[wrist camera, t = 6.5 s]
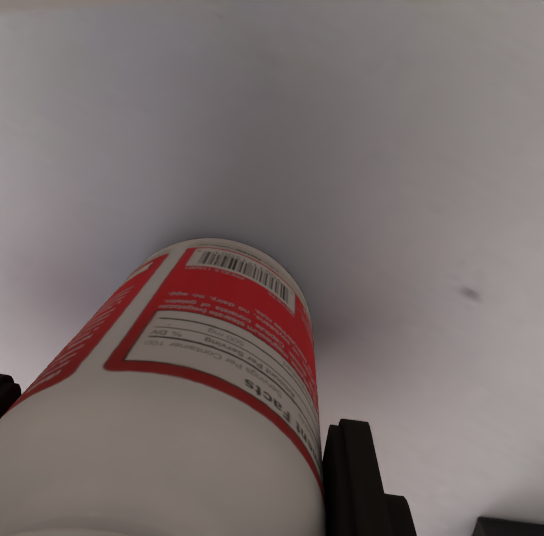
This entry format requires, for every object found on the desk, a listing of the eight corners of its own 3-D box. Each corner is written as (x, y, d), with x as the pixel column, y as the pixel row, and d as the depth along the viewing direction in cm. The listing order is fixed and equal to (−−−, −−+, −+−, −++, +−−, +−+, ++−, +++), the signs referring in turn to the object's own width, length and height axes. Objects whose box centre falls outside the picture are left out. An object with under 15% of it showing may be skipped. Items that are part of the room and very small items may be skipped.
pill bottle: (154, 414, 17) (-83, 939, 6) (97, 252, 15) (-388, 637, 4) (327, 389, 16) (382, 939, 6) (294, 215, 14) (281, 573, 4)
